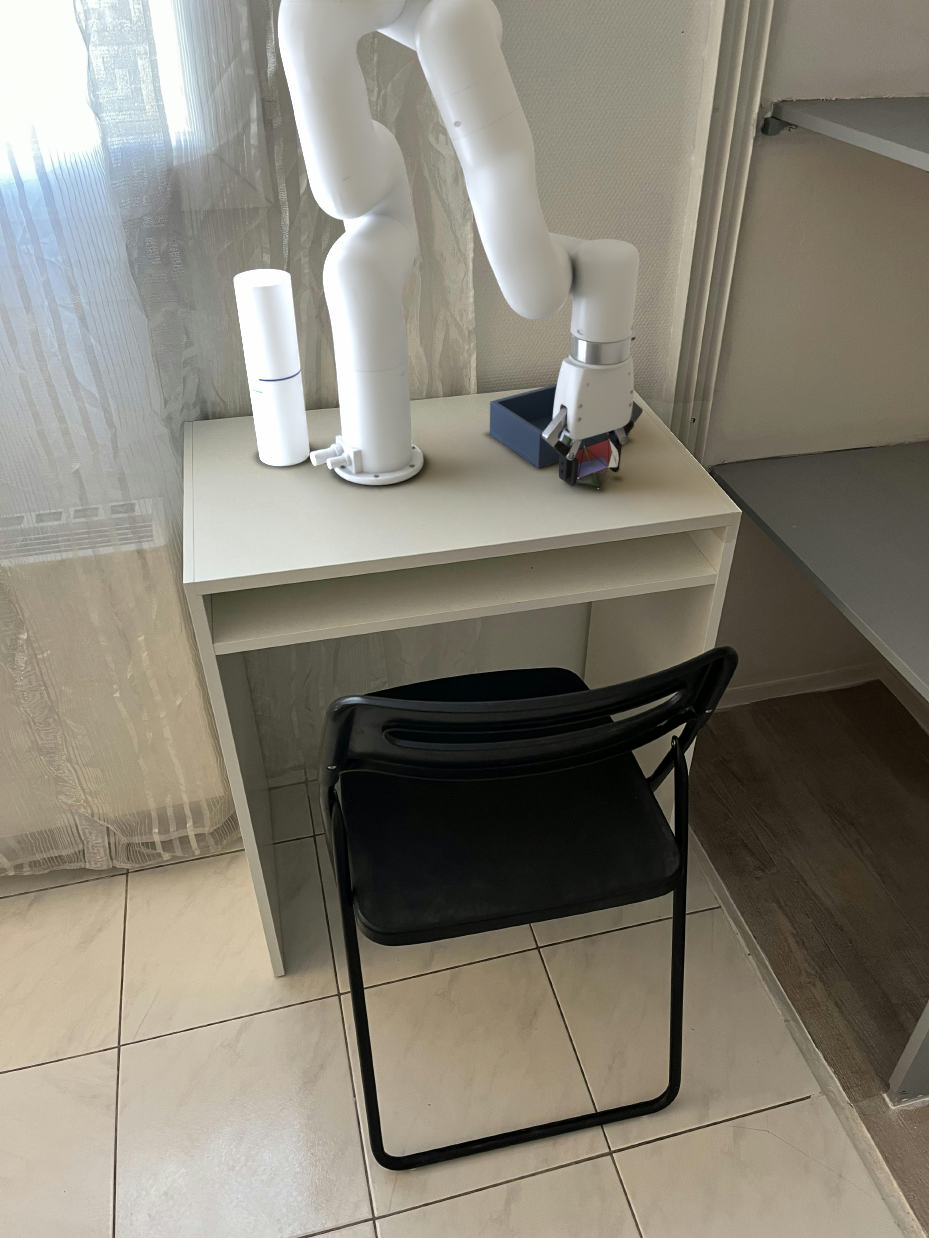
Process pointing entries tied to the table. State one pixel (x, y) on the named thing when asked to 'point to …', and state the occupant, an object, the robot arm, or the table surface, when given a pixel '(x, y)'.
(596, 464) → the geometric puzzle
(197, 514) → the table surface
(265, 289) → the cylindrical container
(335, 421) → the table surface
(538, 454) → the bin
